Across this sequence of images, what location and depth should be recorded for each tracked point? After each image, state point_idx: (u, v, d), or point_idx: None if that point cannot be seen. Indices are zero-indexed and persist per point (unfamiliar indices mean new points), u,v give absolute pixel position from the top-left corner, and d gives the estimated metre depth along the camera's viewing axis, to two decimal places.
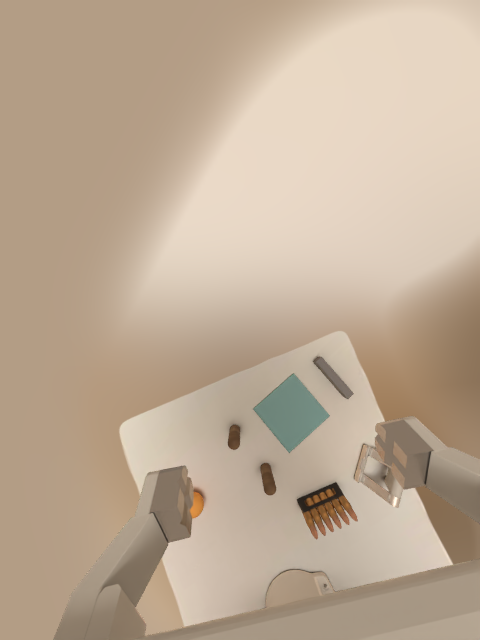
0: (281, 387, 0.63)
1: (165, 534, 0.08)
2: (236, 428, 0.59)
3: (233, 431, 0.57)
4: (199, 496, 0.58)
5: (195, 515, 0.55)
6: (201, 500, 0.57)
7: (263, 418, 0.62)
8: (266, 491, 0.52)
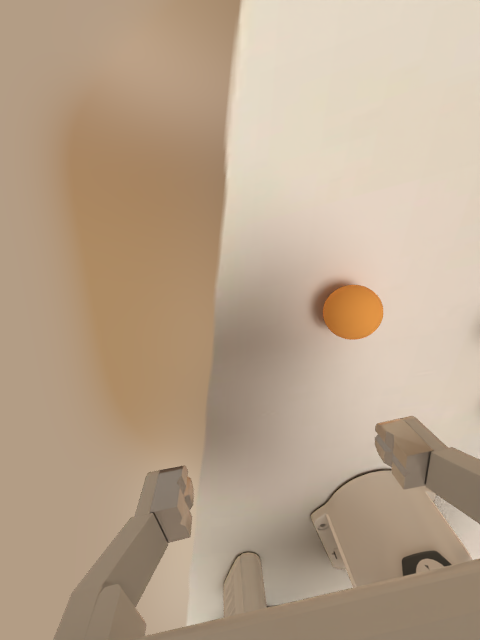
0: None
1: (165, 534, 0.08)
2: None
3: None
4: None
5: (364, 335, 0.21)
6: None
7: None
8: None
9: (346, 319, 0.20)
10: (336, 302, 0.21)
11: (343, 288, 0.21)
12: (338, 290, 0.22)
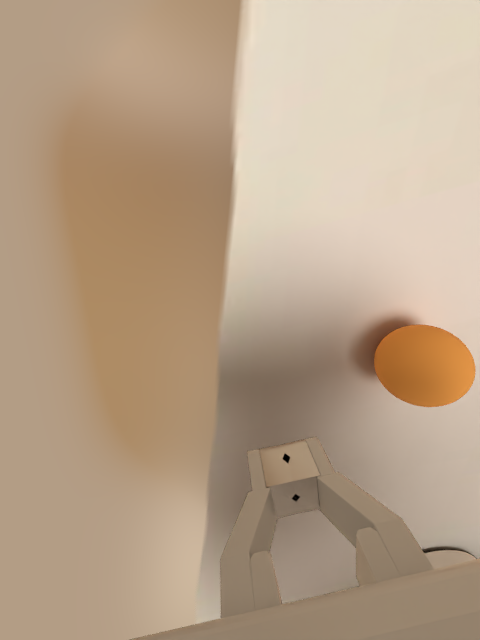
0: None
1: (276, 509, 0.09)
2: None
3: None
4: None
5: (447, 403, 0.14)
6: None
7: None
8: None
9: (422, 383, 0.13)
10: (403, 354, 0.14)
11: (409, 331, 0.14)
12: (401, 334, 0.15)
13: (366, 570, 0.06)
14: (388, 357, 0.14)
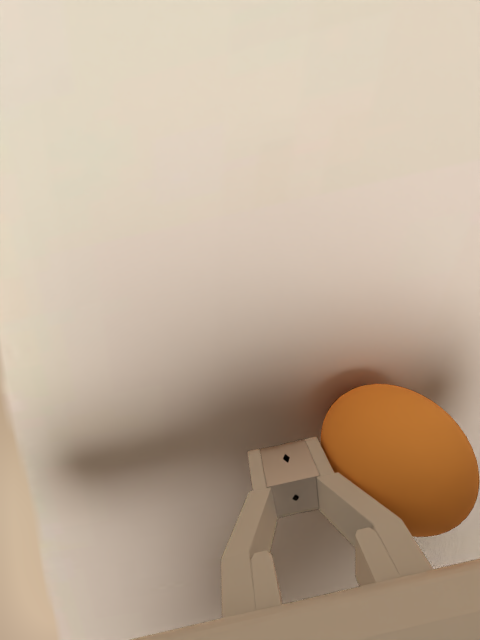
0: None
1: (277, 509, 0.09)
2: None
3: None
4: None
5: None
6: None
7: None
8: None
9: (463, 505, 0.07)
10: (416, 463, 0.07)
11: (385, 409, 0.08)
12: (377, 418, 0.08)
13: (365, 570, 0.06)
14: (390, 476, 0.07)
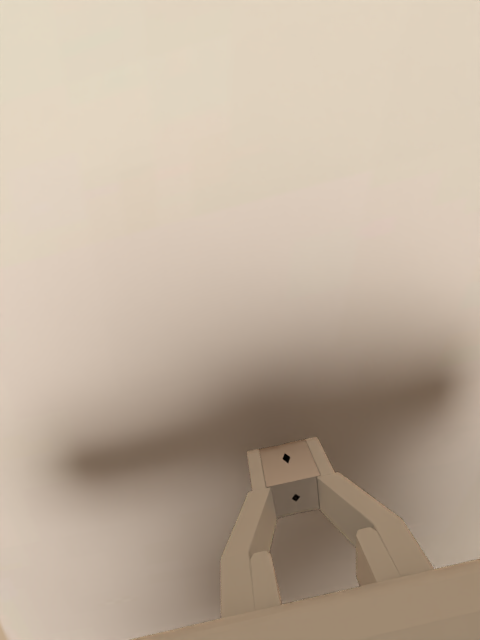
0: None
1: (276, 509, 0.09)
2: None
3: None
4: None
5: None
6: None
7: None
8: None
9: None
10: None
11: None
12: None
13: (366, 570, 0.06)
14: None
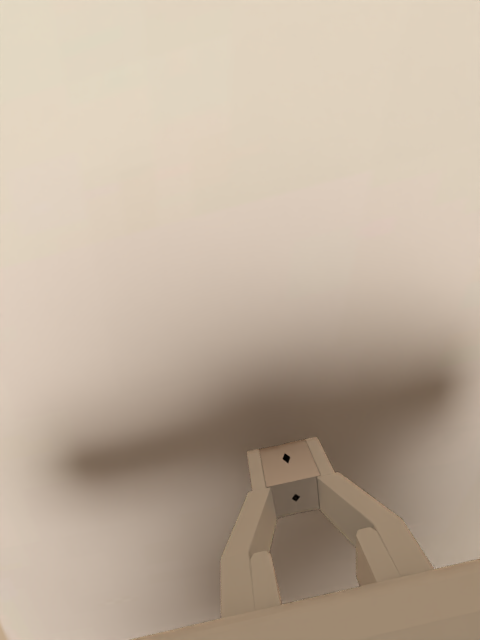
0: None
1: (276, 509, 0.09)
2: None
3: None
4: None
5: None
6: None
7: None
8: None
9: None
10: None
11: None
12: None
13: (366, 570, 0.06)
14: None
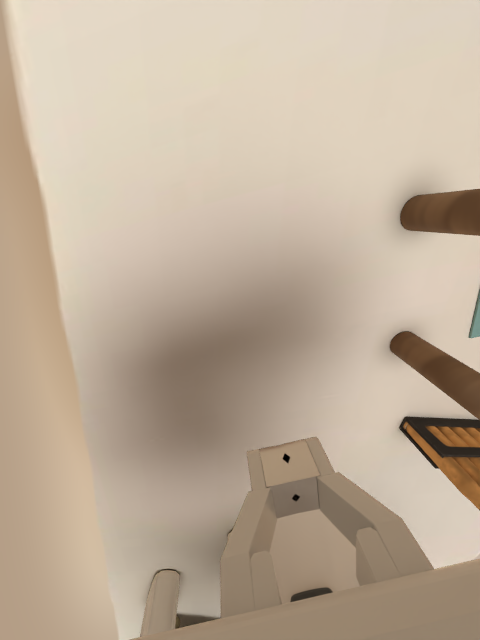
0: None
1: (276, 509, 0.09)
2: None
3: None
4: None
5: None
6: None
7: None
8: None
9: None
10: None
11: None
12: None
13: (366, 570, 0.06)
14: None
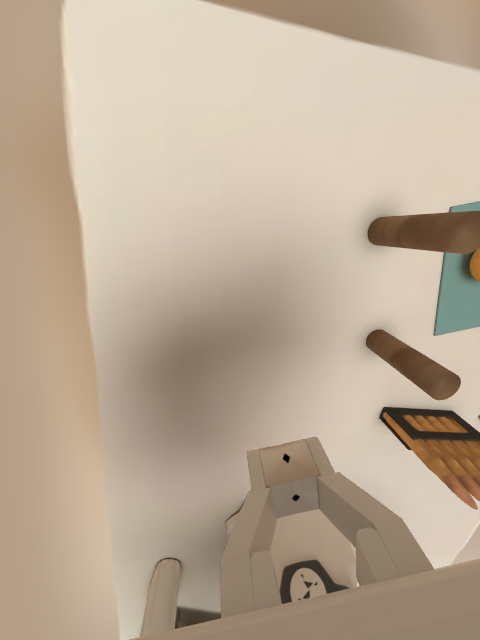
0: None
1: (276, 509, 0.09)
2: None
3: None
4: None
5: None
6: None
7: None
8: (434, 388, 0.20)
9: (475, 261, 0.24)
10: None
11: None
12: None
13: (366, 570, 0.06)
14: (478, 248, 0.25)
